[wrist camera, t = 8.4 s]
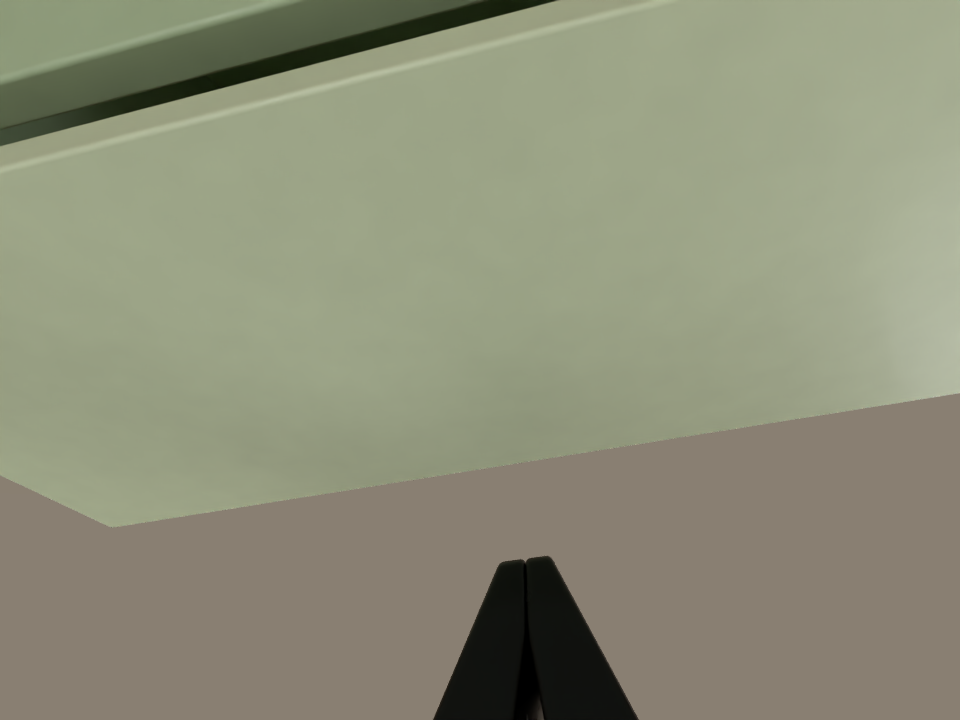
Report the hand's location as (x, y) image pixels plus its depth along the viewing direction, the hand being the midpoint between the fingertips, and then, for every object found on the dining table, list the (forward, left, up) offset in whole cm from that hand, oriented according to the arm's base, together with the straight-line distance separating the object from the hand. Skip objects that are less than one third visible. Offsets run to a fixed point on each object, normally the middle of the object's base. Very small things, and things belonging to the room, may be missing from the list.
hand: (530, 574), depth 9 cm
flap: (-2, +3, -3) cm, 5 cm away
